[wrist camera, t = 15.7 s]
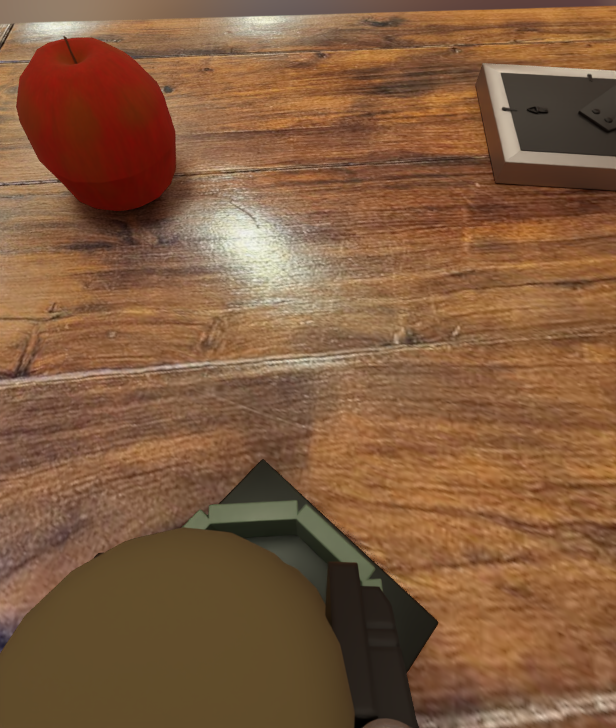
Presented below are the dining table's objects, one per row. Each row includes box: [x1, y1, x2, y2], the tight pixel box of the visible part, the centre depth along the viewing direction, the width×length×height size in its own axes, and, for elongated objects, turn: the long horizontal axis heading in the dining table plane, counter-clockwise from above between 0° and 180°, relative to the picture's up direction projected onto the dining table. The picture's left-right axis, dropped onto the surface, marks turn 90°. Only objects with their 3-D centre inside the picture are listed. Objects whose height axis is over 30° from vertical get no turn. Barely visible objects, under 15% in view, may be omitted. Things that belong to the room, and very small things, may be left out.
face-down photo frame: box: [476, 63, 616, 191], centre depth 40 cm, size 16×3×21 cm
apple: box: [16, 36, 176, 211], centre depth 31 cm, size 10×10×12 cm
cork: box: [0, 527, 355, 728], centre depth 9 cm, size 6×6×11 cm
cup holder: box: [182, 459, 438, 674], centre depth 18 cm, size 12×12×6 cm
